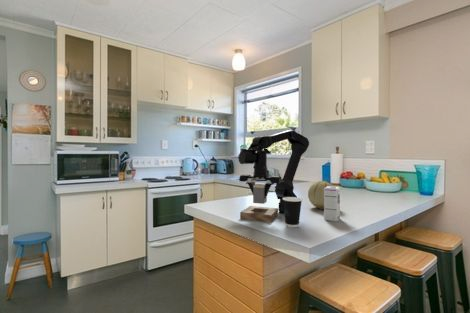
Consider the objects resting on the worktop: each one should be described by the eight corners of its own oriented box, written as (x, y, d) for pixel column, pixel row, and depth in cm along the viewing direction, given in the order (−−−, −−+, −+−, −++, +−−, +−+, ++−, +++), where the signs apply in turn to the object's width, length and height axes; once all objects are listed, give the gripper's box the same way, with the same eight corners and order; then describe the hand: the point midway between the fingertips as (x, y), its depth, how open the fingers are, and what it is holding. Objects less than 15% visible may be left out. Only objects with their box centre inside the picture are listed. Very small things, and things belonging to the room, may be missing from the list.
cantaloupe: (308, 210, 129) (308, 181, 129) (307, 204, 143) (307, 178, 143) (339, 212, 126) (339, 182, 125) (334, 206, 140) (335, 179, 140)
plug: (266, 201, 118) (266, 184, 117) (263, 203, 113) (264, 186, 113) (256, 200, 119) (256, 184, 119) (253, 202, 115) (253, 185, 115)
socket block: (277, 214, 120) (278, 208, 120) (270, 222, 107) (271, 215, 107) (250, 211, 125) (250, 205, 125) (240, 218, 112) (240, 212, 112)
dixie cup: (303, 224, 105) (303, 197, 105) (300, 229, 98) (300, 201, 98) (284, 221, 108) (285, 196, 108) (280, 226, 101) (280, 199, 101)
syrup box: (337, 221, 109) (338, 188, 109) (323, 219, 112) (324, 187, 112) (339, 218, 114) (340, 186, 114) (326, 216, 117) (326, 185, 117)
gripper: (283, 163, 120) (283, 196, 120) (246, 162, 127) (246, 193, 127) (279, 164, 110) (278, 200, 110) (239, 163, 116) (238, 197, 117)
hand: (260, 197), depth 116 cm, fingers closed on plug, 5 cm apart
